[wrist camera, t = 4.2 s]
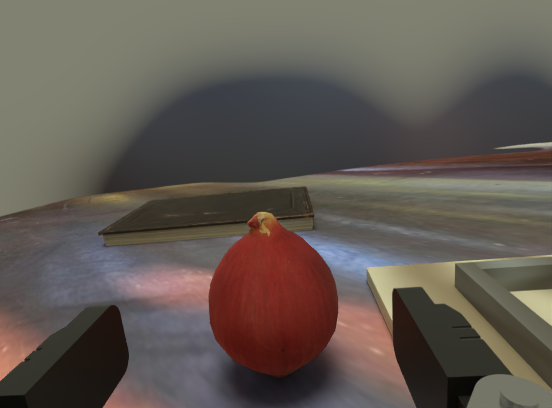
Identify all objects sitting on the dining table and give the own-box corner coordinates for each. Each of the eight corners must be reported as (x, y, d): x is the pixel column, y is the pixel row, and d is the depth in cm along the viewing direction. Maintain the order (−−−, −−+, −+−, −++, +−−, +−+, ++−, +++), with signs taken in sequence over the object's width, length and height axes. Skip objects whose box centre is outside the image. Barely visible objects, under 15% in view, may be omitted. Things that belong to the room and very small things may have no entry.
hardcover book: (315, 235, 38) (313, 214, 37) (102, 252, 39) (98, 232, 38) (307, 200, 53) (305, 185, 53) (155, 213, 54) (152, 198, 54)
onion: (238, 334, 20) (220, 198, 19) (341, 335, 19) (332, 191, 18) (202, 418, 15) (170, 235, 13) (343, 425, 14) (331, 228, 12)
